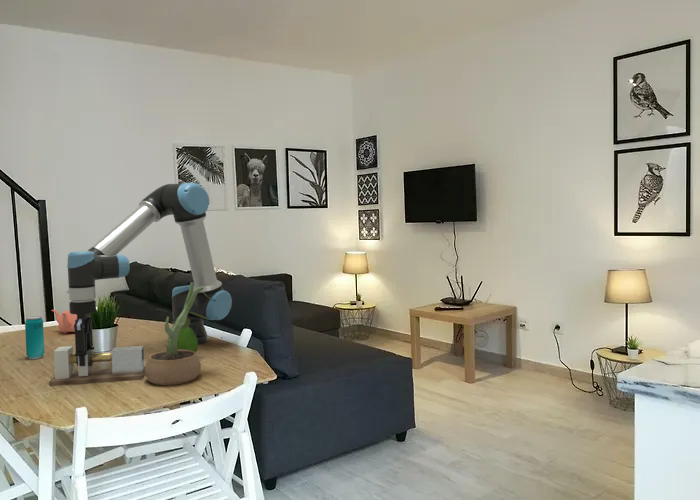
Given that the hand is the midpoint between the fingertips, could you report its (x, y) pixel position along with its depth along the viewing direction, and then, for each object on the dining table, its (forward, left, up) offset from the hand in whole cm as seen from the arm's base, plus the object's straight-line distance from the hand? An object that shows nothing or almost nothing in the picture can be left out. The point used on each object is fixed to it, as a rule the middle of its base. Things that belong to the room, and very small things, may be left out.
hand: (85, 373), depth 180 cm
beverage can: (+24, -33, -2) cm, 41 cm away
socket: (+6, 0, -2) cm, 6 cm away
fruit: (-30, -17, -2) cm, 34 cm away
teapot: (+24, -80, -2) cm, 84 cm away
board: (-4, 0, -2) cm, 5 cm away
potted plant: (-30, +6, -2) cm, 31 cm away
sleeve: (-13, 0, -1) cm, 13 cm away
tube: (-4, 0, +2) cm, 5 cm away
